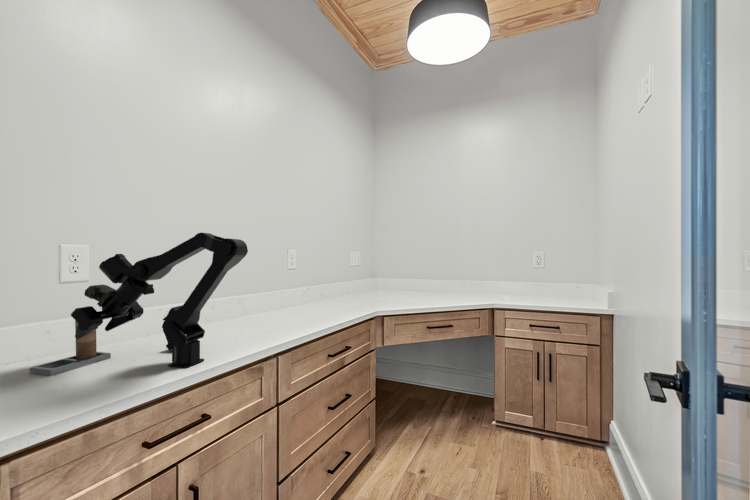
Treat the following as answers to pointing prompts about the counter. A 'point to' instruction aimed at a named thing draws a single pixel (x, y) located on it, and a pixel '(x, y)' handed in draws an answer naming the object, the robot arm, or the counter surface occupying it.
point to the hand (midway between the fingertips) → (91, 333)
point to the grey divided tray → (67, 364)
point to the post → (85, 345)
